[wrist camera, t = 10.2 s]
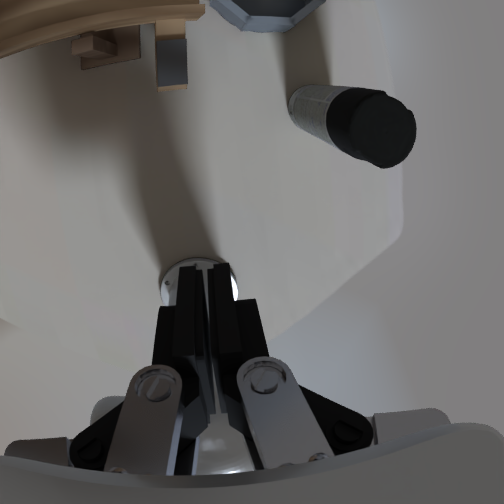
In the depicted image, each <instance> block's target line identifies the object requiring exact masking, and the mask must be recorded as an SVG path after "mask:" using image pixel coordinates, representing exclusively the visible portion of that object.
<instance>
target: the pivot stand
mask: <svg viewBox="0 0 504 504" xmlns="http://www.w3.org/2000/svg"><path fill="white" fill-rule="evenodd" d="M71 48H72V55H75V56H81V70H85V69H89V68H94V67H98V66H102V65H107V64H112V63H117V62H122V61H128V60H133V59H139V58H141V54H140V25H132V26H124V27H118V28H111V29H106V30H100V31H95V32H90V33H85V34H80V39H77V40H73V41H71Z"/></svg>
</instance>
